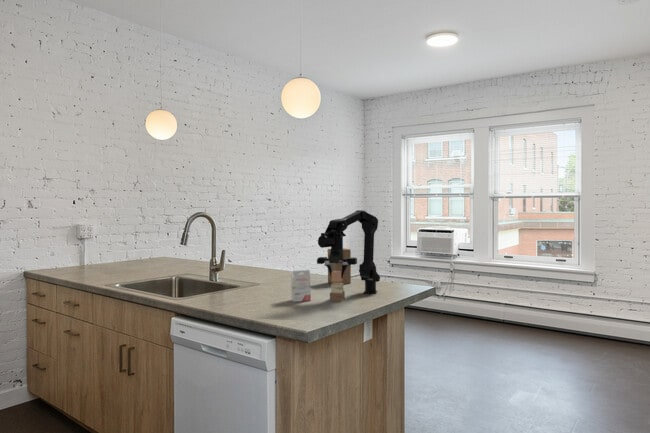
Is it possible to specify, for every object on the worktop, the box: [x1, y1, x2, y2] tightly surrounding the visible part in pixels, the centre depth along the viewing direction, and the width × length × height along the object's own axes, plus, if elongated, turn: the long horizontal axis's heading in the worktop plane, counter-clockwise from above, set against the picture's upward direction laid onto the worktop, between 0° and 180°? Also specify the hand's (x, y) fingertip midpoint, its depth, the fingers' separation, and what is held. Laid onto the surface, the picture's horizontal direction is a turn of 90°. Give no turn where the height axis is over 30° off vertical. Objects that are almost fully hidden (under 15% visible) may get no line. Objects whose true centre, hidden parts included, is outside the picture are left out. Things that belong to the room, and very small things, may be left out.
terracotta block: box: [332, 271, 343, 282], centre depth 223 cm, size 4×4×4 cm
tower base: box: [329, 291, 346, 303], centre depth 223 cm, size 6×6×4 cm
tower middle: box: [330, 283, 345, 293], centre depth 223 cm, size 5×5×4 cm
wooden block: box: [327, 247, 352, 285], centre depth 271 cm, size 10×10×20 cm
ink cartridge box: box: [290, 269, 312, 302], centre depth 223 cm, size 9×5×15 cm, turn 105°
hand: (337, 278), depth 223 cm, fingers closed on terracotta block, 4 cm apart
